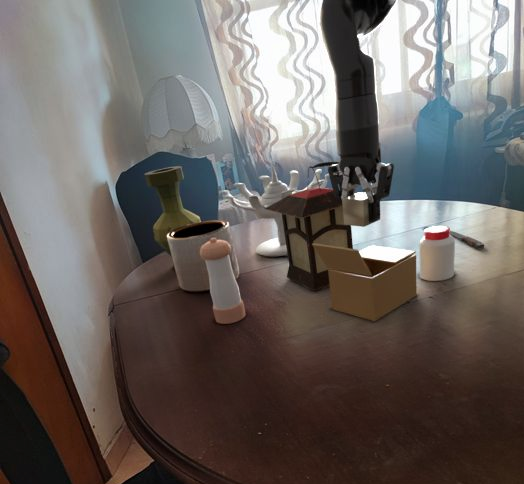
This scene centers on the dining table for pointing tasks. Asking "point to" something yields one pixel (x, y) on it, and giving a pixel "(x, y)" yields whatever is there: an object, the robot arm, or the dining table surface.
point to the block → (356, 210)
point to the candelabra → (272, 195)
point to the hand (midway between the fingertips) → (362, 219)
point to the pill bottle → (436, 254)
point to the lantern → (312, 231)
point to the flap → (342, 259)
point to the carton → (375, 283)
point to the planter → (197, 252)
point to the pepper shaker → (222, 282)
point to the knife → (466, 239)
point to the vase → (169, 204)
